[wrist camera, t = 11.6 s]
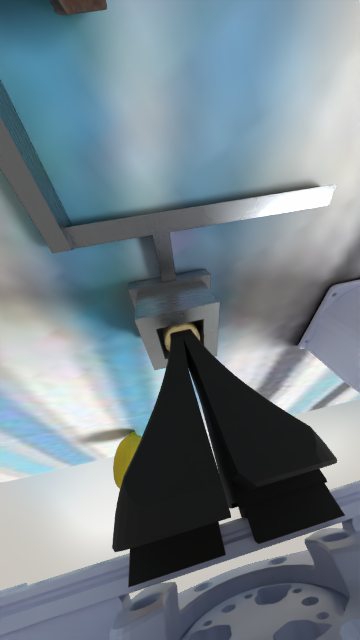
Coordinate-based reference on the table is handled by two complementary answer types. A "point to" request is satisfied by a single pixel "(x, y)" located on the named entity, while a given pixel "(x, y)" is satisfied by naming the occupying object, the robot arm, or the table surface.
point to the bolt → (77, 6)
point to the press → (149, 295)
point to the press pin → (179, 327)
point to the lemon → (125, 456)
